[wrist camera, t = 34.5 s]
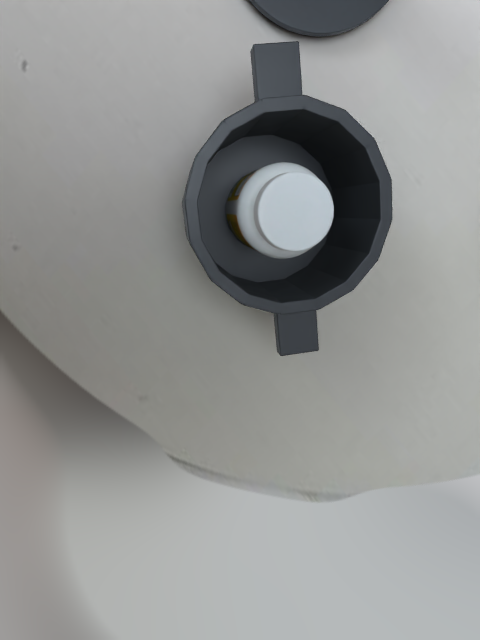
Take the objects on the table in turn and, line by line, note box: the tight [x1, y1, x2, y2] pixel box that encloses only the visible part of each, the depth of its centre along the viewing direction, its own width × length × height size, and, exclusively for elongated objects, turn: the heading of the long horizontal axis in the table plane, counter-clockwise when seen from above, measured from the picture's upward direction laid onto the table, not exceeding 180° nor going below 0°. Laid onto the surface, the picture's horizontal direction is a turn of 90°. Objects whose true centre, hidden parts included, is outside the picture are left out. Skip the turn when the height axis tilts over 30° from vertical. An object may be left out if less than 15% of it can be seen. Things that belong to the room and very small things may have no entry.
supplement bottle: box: [226, 162, 334, 259], centre depth 28 cm, size 5×5×10 cm
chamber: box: [182, 41, 392, 356], centre depth 29 cm, size 11×17×8 cm
